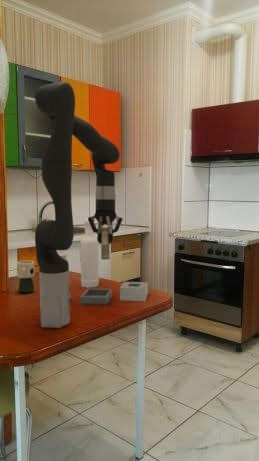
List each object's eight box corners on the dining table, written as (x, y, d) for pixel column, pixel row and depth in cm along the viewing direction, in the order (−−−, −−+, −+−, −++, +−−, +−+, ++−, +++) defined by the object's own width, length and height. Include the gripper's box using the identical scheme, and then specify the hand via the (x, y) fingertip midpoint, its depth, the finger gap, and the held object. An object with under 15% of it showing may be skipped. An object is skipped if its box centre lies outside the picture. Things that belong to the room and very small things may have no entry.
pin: (109, 259, 142) (109, 228, 141) (98, 259, 142) (98, 228, 141) (112, 258, 146) (112, 227, 145) (101, 257, 147) (101, 227, 146)
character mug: (32, 295, 153) (32, 264, 151) (15, 296, 152) (14, 264, 151) (37, 288, 164) (36, 259, 162) (20, 289, 163) (19, 259, 162)
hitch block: (145, 301, 144) (145, 288, 144) (120, 300, 145) (119, 287, 145) (147, 294, 154) (147, 282, 153) (123, 293, 155) (123, 281, 155)
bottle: (78, 285, 169) (76, 219, 166) (93, 282, 174) (92, 218, 171) (86, 288, 163) (84, 220, 160) (101, 286, 167) (101, 219, 164)
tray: (106, 305, 139) (106, 297, 139) (80, 304, 140) (80, 296, 140) (112, 296, 151) (112, 289, 150) (87, 295, 152) (87, 288, 152)
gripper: (84, 198, 140) (85, 244, 141) (122, 198, 138) (121, 244, 139) (89, 198, 147) (89, 241, 148) (125, 198, 145) (124, 242, 146)
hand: (105, 243), depth 144 cm, fingers closed on pin, 3 cm apart
